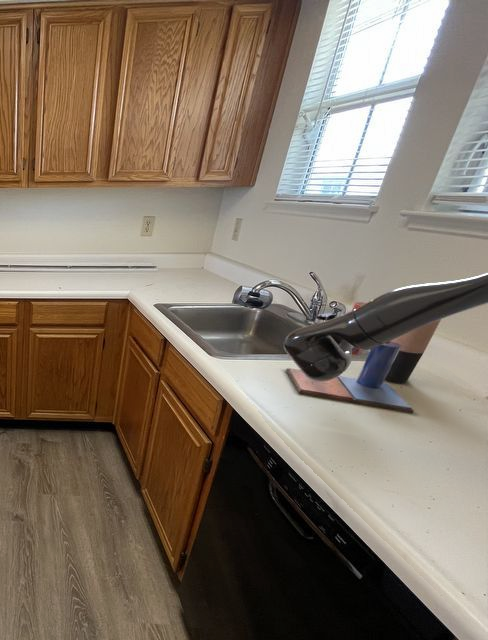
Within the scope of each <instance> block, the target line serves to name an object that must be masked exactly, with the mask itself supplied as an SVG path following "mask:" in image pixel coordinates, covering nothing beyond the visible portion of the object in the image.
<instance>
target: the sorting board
mask: <svg viewBox="0 0 488 640" xmlns="http://www.w3.org/2000/svg"><path fill="white" fill-rule="evenodd" d="M285 372H286V374H287V375H288V377H289V379H290V381H291V383H292V384H293V386H294V388H295V389H296V391H297V393H298V394H299V395H304V396H310V397H311V396H312V397H316V398H322V399H329V400H333V401H340V402H344V403H346V402H347V403H351V404H357V405H362V406H370V407H375V408H380V409H385V410H392V411H396V412H398V411H399V412H403V413H410V414H413V413H414V409H413V408H412V406H411V405H409V403H407V401H405V400H404V398H403V397H402V396H401V395H400V394H398V393H397V391H395V390H394V389H393V388H392V387H391V386H390V385H389V384H388V383H387V382H383V384H382V386H381V388H378V389H376V388H369V387H365V386H363V385H360V384H358V383H357V382H356V380H357V378H355V377H347V376H341V375H339V376H338V377H336V378H334V379H331V380H328V381H313V380H311V379H309V378H307V377H306V376H305V375H304V374H303V373H302V371H301V370H300V369H299V368H298V369H296V368H292V367H287V368H286V369H285Z"/></svg>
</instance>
